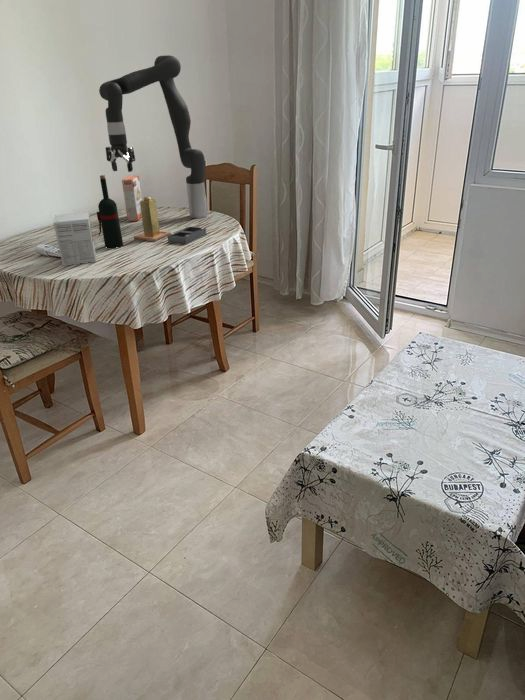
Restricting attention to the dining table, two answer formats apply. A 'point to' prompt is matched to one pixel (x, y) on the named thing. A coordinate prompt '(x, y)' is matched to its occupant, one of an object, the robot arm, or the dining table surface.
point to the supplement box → (75, 238)
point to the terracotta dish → (156, 238)
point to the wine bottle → (109, 219)
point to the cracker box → (132, 197)
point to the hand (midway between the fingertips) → (122, 171)
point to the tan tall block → (149, 217)
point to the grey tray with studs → (186, 235)
